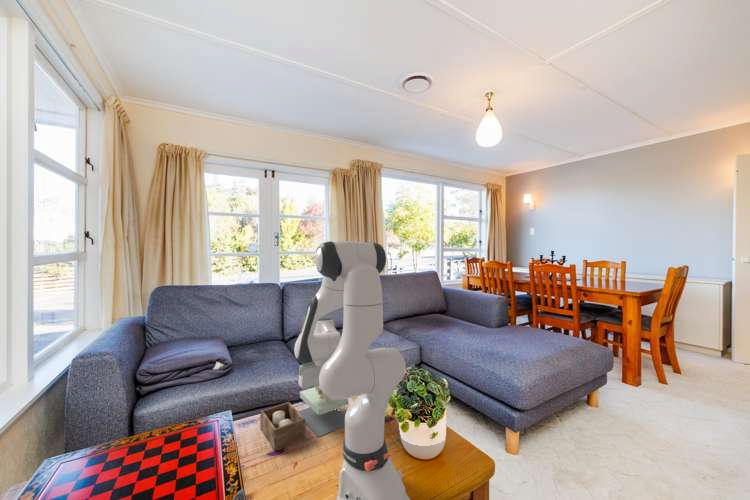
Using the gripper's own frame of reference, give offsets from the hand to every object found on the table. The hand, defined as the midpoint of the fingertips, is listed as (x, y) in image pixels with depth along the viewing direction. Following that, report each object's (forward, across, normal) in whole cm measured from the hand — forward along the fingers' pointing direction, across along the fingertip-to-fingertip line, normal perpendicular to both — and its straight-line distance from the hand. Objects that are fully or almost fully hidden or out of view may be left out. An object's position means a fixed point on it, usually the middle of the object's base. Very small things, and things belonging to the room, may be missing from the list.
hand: (323, 392), depth 120 cm
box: (+10, -17, 0) cm, 20 cm away
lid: (+3, 0, 0) cm, 3 cm away
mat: (+10, 0, 0) cm, 10 cm away
